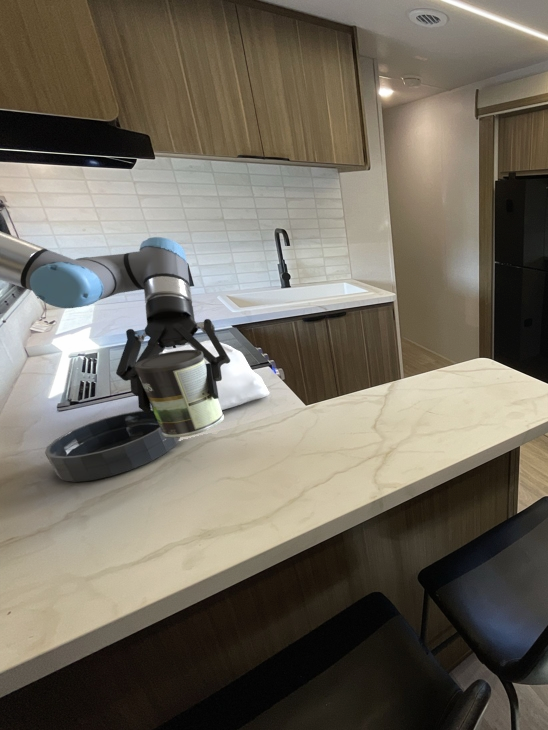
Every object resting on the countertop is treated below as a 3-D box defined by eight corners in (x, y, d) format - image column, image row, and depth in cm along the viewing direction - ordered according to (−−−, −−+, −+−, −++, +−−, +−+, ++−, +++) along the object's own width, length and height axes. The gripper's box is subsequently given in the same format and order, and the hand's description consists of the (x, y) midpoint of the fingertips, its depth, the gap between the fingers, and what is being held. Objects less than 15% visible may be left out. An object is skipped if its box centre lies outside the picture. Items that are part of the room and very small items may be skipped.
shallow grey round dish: (28, 487, 74) (13, 462, 72) (111, 434, 92) (101, 413, 90) (138, 477, 76) (126, 452, 74) (199, 427, 93) (191, 406, 91)
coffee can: (163, 444, 73) (133, 373, 68) (161, 424, 81) (133, 358, 75) (228, 424, 79) (205, 357, 74) (221, 408, 87) (199, 345, 81)
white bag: (236, 373, 126) (223, 332, 121) (273, 398, 107) (259, 350, 102) (161, 394, 113) (143, 349, 108) (187, 426, 94) (167, 373, 89)
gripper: (238, 307, 90) (253, 396, 83) (108, 323, 81) (114, 425, 74) (228, 286, 83) (244, 381, 76) (86, 301, 74) (90, 410, 67)
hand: (180, 402), depth 75 cm, fingers closed on coffee can, 10 cm apart
